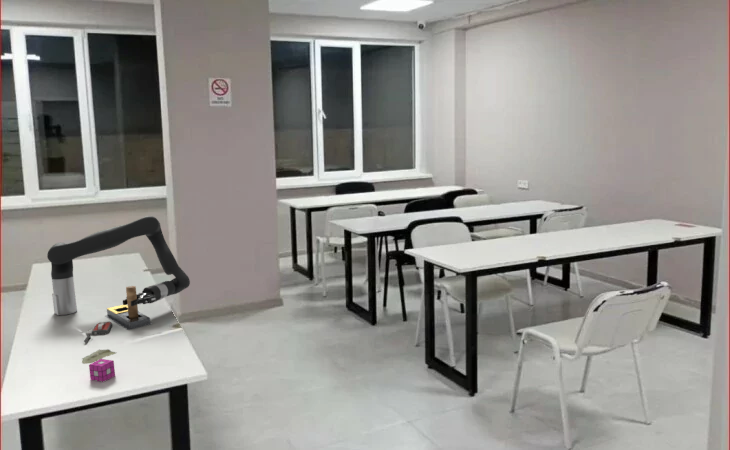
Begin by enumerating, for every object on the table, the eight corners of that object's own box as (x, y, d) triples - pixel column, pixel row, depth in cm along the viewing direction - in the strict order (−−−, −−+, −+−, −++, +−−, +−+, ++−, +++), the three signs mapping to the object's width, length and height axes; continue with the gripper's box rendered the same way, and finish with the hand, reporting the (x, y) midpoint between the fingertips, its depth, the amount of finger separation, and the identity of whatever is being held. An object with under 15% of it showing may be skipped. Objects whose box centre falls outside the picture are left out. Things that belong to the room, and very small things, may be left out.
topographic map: (72, 364, 228) (71, 360, 228) (99, 350, 241) (99, 346, 240) (100, 369, 224) (100, 365, 223) (127, 355, 236) (126, 351, 236)
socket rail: (128, 332, 261) (127, 322, 261) (105, 317, 282) (104, 308, 281) (153, 325, 268) (152, 316, 268) (128, 312, 289) (128, 303, 288)
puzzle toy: (90, 380, 212) (88, 364, 211) (102, 373, 218) (101, 358, 217) (103, 382, 210) (101, 366, 209) (115, 375, 216) (113, 360, 215)
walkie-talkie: (92, 329, 268) (82, 345, 248) (91, 319, 267) (81, 334, 248) (113, 327, 270) (105, 342, 250) (112, 317, 269) (104, 332, 250)
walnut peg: (131, 324, 267) (128, 288, 264) (127, 322, 270) (124, 287, 267) (140, 322, 270) (137, 287, 267) (136, 320, 273) (133, 285, 270)
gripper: (142, 283, 283) (114, 293, 268) (166, 286, 278) (139, 296, 262) (143, 299, 285) (115, 310, 269) (168, 302, 279) (140, 313, 264)
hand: (127, 303), depth 266 cm, fingers closed on walnut peg, 4 cm apart
